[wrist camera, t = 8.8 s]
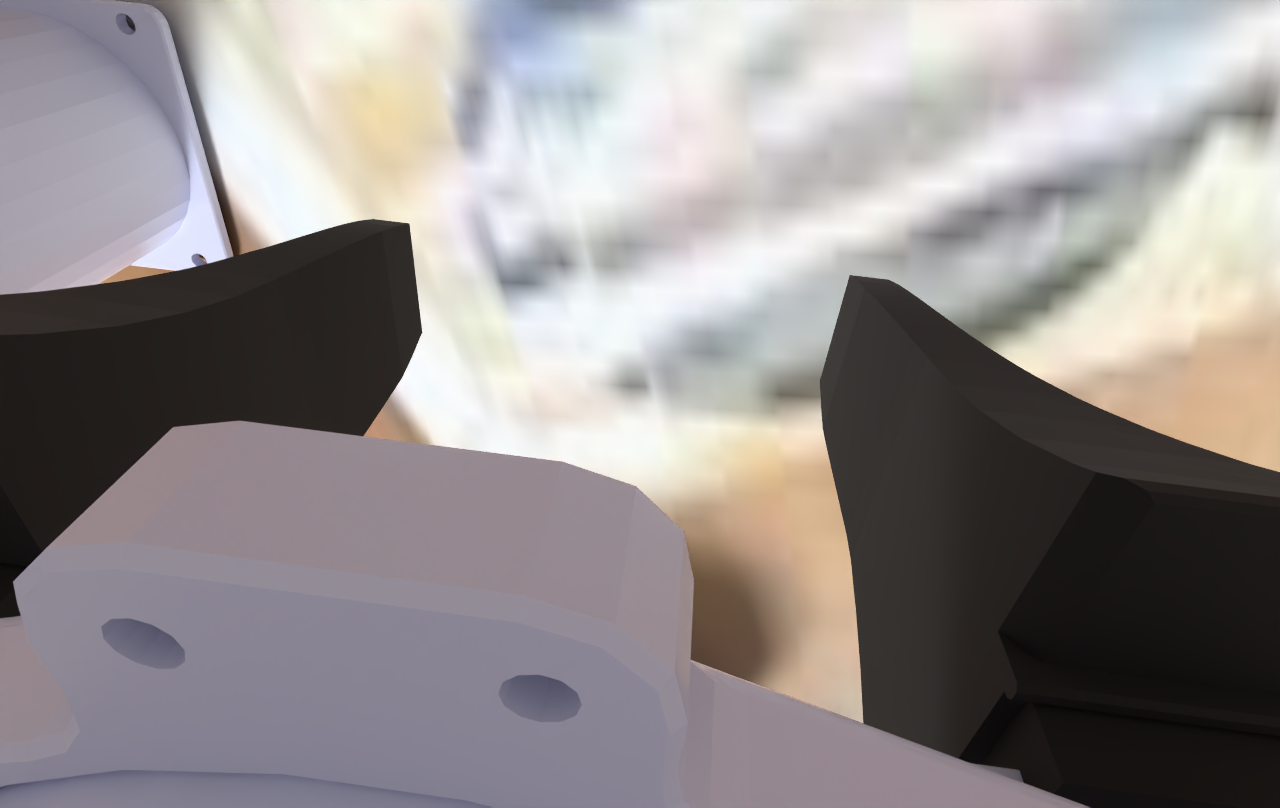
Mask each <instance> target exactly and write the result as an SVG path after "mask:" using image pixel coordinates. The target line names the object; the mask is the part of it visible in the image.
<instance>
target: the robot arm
mask: <svg viewBox="0 0 1280 808" xmlns="http://www.w3.org/2000/svg"><path fill="white" fill-rule="evenodd" d="M126 15H128V16H129V17H130V18H131V19H132V20H133V22H134V24H135V29H136V31H133V30H132V29H131V28H130V27H129V26H128V24H127V22H126ZM199 254H200V255H202V256H203V257H205V259H206V260H207V263H206V262H204V261H203V260H202V259H201V258H200V256H199ZM129 265H134V266H142V267H150V268H158V269H167V270H175V271H173V272H169V273H163V274H158V275H153V276H147V277H142V278H137V279H131V280H125V281H119V282H112V283H104V284H99V283H101V282H102V281H104V280H106V279H107V278H109V277H111V276H112V275H114V274H116V273H117V272H119V271H120V270H122V269H124V268H125V267H127V266H129ZM421 334H422V327H421V319H420V310H419V302H418V293H417V285H416V276H415V268H414V259H413V251H412V242H411V234H410V225H409V223H400V222H392V221H383V220H375V219H371V220H362V221H356V222H352V223H347V224H343V225H340V226H336V227H332V228H329V229H325V230H322V231H319V232H315V233H312V234H309V235H305V236H302V237H299V238H296V239H292V240H289V241H286V242H283V243H279V244H276V245H273V246H270V247H266V248H263V249H259V250H255V251H252V252H248V253H245V254H241V255H237V256H233V252H232V249H231V245H230V241H229V238H228V234H227V231H226V227H225V224H224V220H223V216H222V213H221V209H220V206H219V202H218V199H217V195H216V191H215V188H214V184H213V181H212V177H211V174H210V170H209V166H208V163H207V159H206V156H205V152H204V149H203V145H202V141H201V138H200V134H199V131H198V127H197V124H196V120H195V116H194V113H193V109H192V106H191V102H190V99H189V95H188V91H187V88H186V84H185V81H184V77H183V73H182V70H181V66H180V63H179V59H178V56H177V52H176V48H175V45H174V41H173V38H172V34H171V31H170V27H169V25H168V22H167V20H166V18H165V17H164V16H163V14H162V13H161V12H160V11H159V10H158V9H156V8H155V7H154V6H151V5H148V4H143V3H133V2H124V1H115V0H0V808H1280V472H1277V471H1273V470H1269V469H1266V468H1262V467H1258V466H1255V465H1251V464H1248V463H1245V462H1242V461H1239V460H1236V459H1233V458H1230V457H1227V456H1224V455H1221V454H1218V453H1215V452H1212V451H1209V450H1206V449H1203V448H1200V447H1197V446H1194V445H1191V444H1188V443H1185V442H1182V441H1180V440H1177V439H1174V438H1171V437H1169V436H1166V435H1163V434H1161V433H1158V432H1155V431H1153V430H1150V429H1147V428H1145V427H1143V426H1140V425H1138V424H1135V423H1133V422H1131V421H1128V420H1126V419H1124V418H1121V417H1119V416H1116V415H1114V414H1112V413H1109V412H1107V411H1105V410H1102V409H1100V408H1098V407H1096V406H1093V405H1091V404H1089V403H1087V402H1085V401H1083V400H1080V399H1078V398H1076V397H1074V396H1072V395H1070V394H1068V393H1067V392H1065V391H1063V390H1061V389H1059V388H1057V387H1055V386H1053V385H1051V384H1049V383H1047V382H1045V381H1043V380H1042V379H1040V378H1038V377H1036V376H1034V375H1032V374H1031V373H1029V372H1027V371H1025V370H1024V369H1022V368H1020V367H1018V366H1017V365H1015V364H1013V363H1012V362H1010V361H1009V360H1007V359H1006V358H1004V357H1002V356H1001V355H999V354H998V353H996V352H994V351H993V350H991V349H990V348H988V347H987V346H985V345H984V344H982V343H981V342H979V341H978V340H976V339H975V338H973V337H972V336H970V335H969V334H967V333H966V332H965V331H963V330H962V329H960V328H959V327H957V326H956V325H955V324H953V323H952V322H951V321H949V320H948V319H946V318H945V317H944V316H942V315H941V314H940V313H938V312H937V311H935V310H934V309H933V308H931V307H930V306H929V305H927V304H926V303H924V302H923V301H922V300H920V299H919V298H918V297H916V296H915V295H913V294H912V293H910V292H909V291H907V290H906V289H904V288H903V287H901V286H900V285H898V284H896V283H894V282H892V281H890V280H886V279H878V278H869V277H861V276H852V275H850V276H849V280H848V284H847V287H846V291H845V294H844V298H843V301H842V305H841V308H840V312H839V316H838V319H837V323H836V326H835V330H834V333H833V337H832V340H831V344H830V347H829V351H828V355H827V358H826V362H825V365H824V369H823V372H822V376H821V379H820V390H821V410H822V423H823V431H824V436H825V441H826V446H827V450H828V455H829V459H830V464H831V468H832V473H833V477H834V481H835V486H836V490H837V494H838V499H839V503H840V507H841V512H842V516H843V521H844V525H845V529H846V534H847V539H848V545H849V551H850V556H851V565H852V575H853V585H854V595H855V604H856V615H857V628H858V641H859V654H860V667H861V685H862V704H863V722H864V724H863V723H860V722H858V721H855V720H852V719H850V718H847V717H844V716H841V715H839V714H836V713H833V712H831V711H828V710H825V709H822V708H820V707H817V706H814V705H812V704H809V703H806V702H804V701H801V700H798V699H795V698H793V697H790V696H787V695H785V694H782V693H779V692H776V691H774V690H771V689H768V688H766V687H763V686H760V685H758V684H755V683H752V682H749V681H747V680H744V679H741V678H739V677H736V676H733V675H730V674H728V673H725V672H722V671H720V670H717V669H714V668H712V667H709V666H706V665H703V664H701V663H698V662H695V661H693V660H691V640H692V618H693V596H694V578H693V573H692V568H691V563H690V558H689V553H688V548H687V543H686V538H685V533H684V531H683V530H682V529H681V528H680V527H679V526H678V525H676V524H675V523H674V522H673V521H672V520H671V519H670V518H669V517H668V516H667V515H666V514H665V513H664V512H663V511H662V510H661V509H660V508H658V507H657V506H656V505H655V504H654V503H653V502H652V501H651V500H650V499H649V498H648V497H647V496H646V495H645V494H644V493H643V492H642V491H640V490H639V489H638V488H637V487H636V486H633V485H630V484H627V483H624V482H621V481H618V480H615V479H612V478H609V477H606V476H603V475H600V474H597V473H594V472H591V471H588V470H585V469H583V468H580V467H577V466H574V465H571V464H568V463H565V462H560V461H552V460H544V459H536V458H528V457H521V456H513V455H505V454H497V453H489V452H481V451H474V450H466V449H458V448H450V447H442V446H434V445H426V444H419V443H411V442H403V441H395V440H387V439H379V438H372V437H364V434H365V433H366V431H367V430H368V428H369V427H370V425H371V424H372V422H373V421H374V419H375V418H376V417H377V415H378V414H379V412H380V411H381V409H382V408H383V406H384V405H385V403H386V401H387V400H388V398H389V397H390V395H391V394H392V392H393V391H394V389H395V388H396V386H397V385H398V383H399V381H400V380H401V378H402V377H403V375H404V372H405V370H406V368H407V366H408V364H409V362H410V360H411V358H412V355H413V353H414V350H415V348H416V346H417V343H418V341H419V338H420V336H421Z"/></svg>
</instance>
